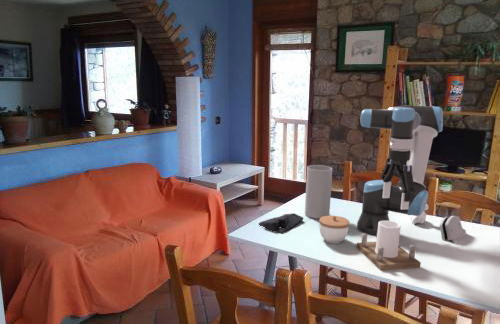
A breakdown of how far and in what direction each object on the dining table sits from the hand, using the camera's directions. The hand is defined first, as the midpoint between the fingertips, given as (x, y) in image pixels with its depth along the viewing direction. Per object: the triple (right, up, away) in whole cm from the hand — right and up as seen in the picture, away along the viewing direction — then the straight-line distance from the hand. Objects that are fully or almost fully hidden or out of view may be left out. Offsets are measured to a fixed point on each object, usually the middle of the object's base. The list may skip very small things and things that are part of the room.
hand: (394, 203), depth 147 cm
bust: (+28, -14, +42) cm, 52 cm away
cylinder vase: (-21, -12, +49) cm, 55 cm away
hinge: (+35, -18, +26) cm, 47 cm away
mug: (-2, -19, +3) cm, 20 cm away
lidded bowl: (-20, -18, +18) cm, 32 cm away
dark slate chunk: (-40, -14, +36) cm, 56 cm away
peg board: (-2, -21, +3) cm, 22 cm away
